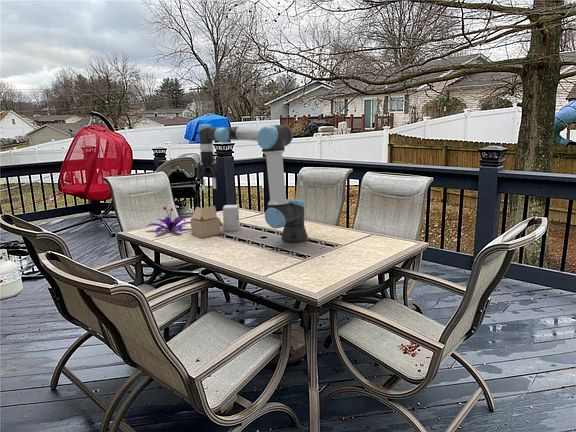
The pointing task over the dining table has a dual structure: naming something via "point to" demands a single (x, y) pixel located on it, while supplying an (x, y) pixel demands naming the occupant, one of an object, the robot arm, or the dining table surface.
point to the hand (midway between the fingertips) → (209, 189)
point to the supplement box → (231, 217)
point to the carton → (206, 227)
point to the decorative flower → (170, 223)
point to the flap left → (197, 213)
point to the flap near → (209, 212)
